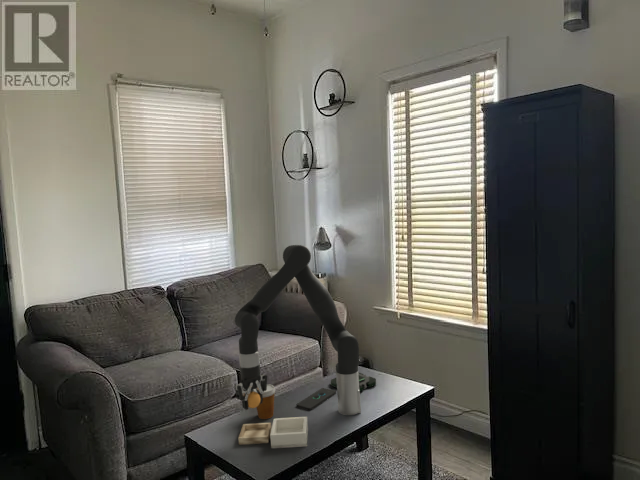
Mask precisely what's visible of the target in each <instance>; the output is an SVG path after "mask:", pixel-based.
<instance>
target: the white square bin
mask: <svg viewBox="0 0 640 480" xmlns="http://www.w3.org/2000/svg"><path fill="white" fill-rule="evenodd" d="M308 425H309V423H308V416H297V417H295V416H294V417H280V418H278V417H276V418H273V421H272V424H271V433H270V438H269V439H270V449H283V448H300V447H308V436H309V435H308V433H309V426H308Z"/></svg>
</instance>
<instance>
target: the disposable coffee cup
mask: <svg viewBox="0 0 640 480" xmlns="http://www.w3.org/2000/svg"><path fill="white" fill-rule="evenodd" d="M260 386H261V384H260ZM252 392H257V391H256V389H253V390H252ZM275 392H276V388H275V386H274V385H273V384H268V383H267V390H266V391H264V392H263V401H262V403H261V404H259V405H258V406H257V407H256V411H257V416H258V418H259V419H261V420H268V419H271V418H273V416H274V412H275V411H274V409H275V394H276V393H275ZM257 393H258V392H257Z"/></svg>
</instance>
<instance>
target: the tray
mask: <svg viewBox="0 0 640 480" xmlns="http://www.w3.org/2000/svg"><path fill="white" fill-rule="evenodd" d="M271 429H272V422H258V423H256V422H255V423H243V424H242V427H241V430H240V433H239V435H238V445H239V446H240V445H256V444H258V445H260V444H269V441H270V439H271V438H270V434H271Z"/></svg>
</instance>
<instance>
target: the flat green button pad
mask: <svg viewBox="0 0 640 480" xmlns="http://www.w3.org/2000/svg"><path fill="white" fill-rule="evenodd" d="M358 377H359V390H360V392H362V391H364V390H366V389H367V387H368V388H370V387H373V386H376V385H377V378H375V377H373V376H370V375H369V376H367V375H366V374H364V373H362V372H360V371H358ZM329 383H330V386H332V387H333V388H336V389H337V379H336V377H334V378H331V380H330V381H329Z"/></svg>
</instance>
